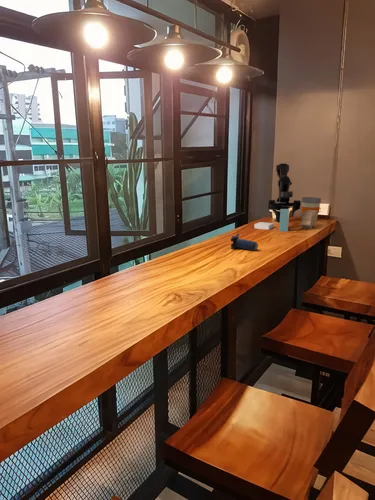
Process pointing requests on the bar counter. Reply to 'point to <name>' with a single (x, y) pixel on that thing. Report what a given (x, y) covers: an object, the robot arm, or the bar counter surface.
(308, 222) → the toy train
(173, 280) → the bar counter surface
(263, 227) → the base brick
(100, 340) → the bar counter surface
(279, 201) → the robot arm
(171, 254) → the bar counter surface
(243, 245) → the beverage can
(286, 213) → the teal column
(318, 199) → the reusable coffee cup
